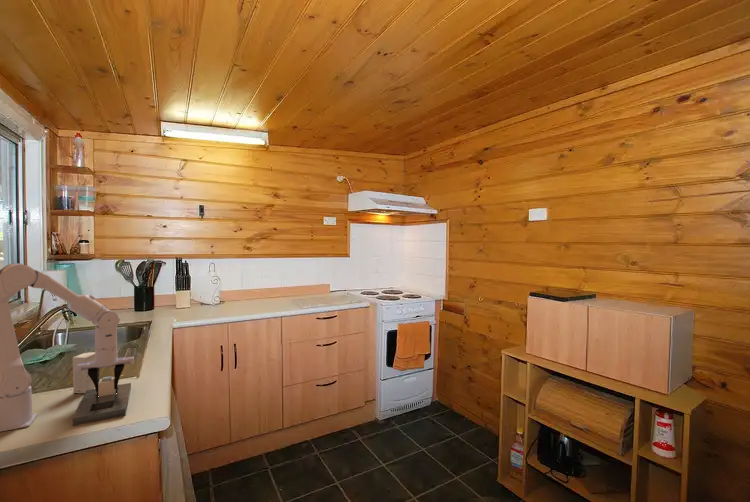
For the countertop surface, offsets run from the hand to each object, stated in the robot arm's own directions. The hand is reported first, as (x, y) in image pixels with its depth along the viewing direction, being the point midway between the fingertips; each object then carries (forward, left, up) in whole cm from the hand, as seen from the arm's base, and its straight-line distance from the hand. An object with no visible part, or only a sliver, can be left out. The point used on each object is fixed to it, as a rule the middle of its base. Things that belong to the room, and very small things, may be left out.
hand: (107, 389), depth 118 cm
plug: (0, 0, -3) cm, 3 cm away
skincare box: (-7, +11, -3) cm, 14 cm away
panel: (0, -6, -3) cm, 6 cm away
